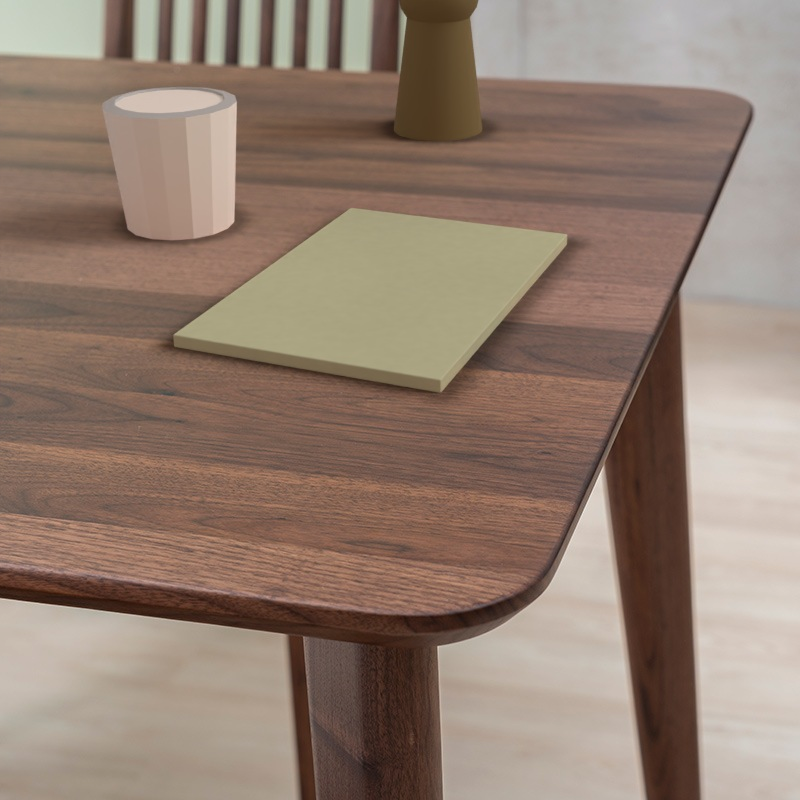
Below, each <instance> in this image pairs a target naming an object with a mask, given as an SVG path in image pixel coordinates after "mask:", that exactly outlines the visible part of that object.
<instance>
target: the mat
mask: <svg viewBox="0 0 800 800" xmlns="http://www.w3.org/2000/svg"><path fill="white" fill-rule="evenodd" d="M567 245H568V234H567V233H562V232H553V231H544V230H536V229H529V228H528V229H527V228H519V227H511V226H503V225H495V224H488V223H487V224H486V223H478V222H471V221H470V222H469V221H461V220H454V219H445V218H437V217H431V216H421V215H413V214H405V213H397V212H387V211H380V210H373V209H365V208H363V209H362V208H354V207H350V208H349V209H347V210H345V211H344V212H343V213H342V214H340V215H339V216H337V217H336V218H335V219H333V220H332V221H331V222H329V223H328V224H326V225H325V226H323V227H322V228H321V229H319V230H318V231H316V232H315V233H313V234H312V235H311V236H309V237H308V238H307V239H305V240H304V241H302V242H301V243H299V244H298V245H297V246H295V247H294V248H292V249H291V250H290V251H289V252H287V253H285V254H284V255H282V256H281V257H280V258H278V259H277V260H276V261H275V262H273V263H272V264H270V265H268V266H267V267H266V268H265V269H263V270H262V271H260V272H258V274H256V275H255V276H253V277H252V278H250V279H249V280H248V281H246V282H245V283H243V284H242V285H240V286H239V287H238V288H236V289H235V290H234V291H232V292H231V293H230V294H228V295H227V296H225V297H224V298H223V299H221V300H219V301H218V302H216V303H215V304H214V305H213V306H212V307H210V308H208V309H207V310H206V311H205V312H203V313H202V314H200V315H199V316H197V317H196V318H194V319H193V320H192V321H190V322H189V323H187V324H186V325H185V326H183V327H182V328H181V329H179V330H178V331H176V332H175V333H173V334H172V337H173V347H175V348H179V349H186V350H191V351H196V352H203V353H208V354H214V355H220V356H225V357H230V358H231V357H232V358H237V359H242V360H243V359H244V360H249V361H253V362H254V361H255V362H261V363H265V364H272V365H278V366H283V367H288V368H289V367H290V368H295V369H301V370H306V371H311V372H318V373H323V374H330V375H335V376H342V377H347V378H353V379H359V380H364V381H370V382H374V383H375V382H376V383H380V384H381V383H382V384H386V385H387V384H388V385H393V386H397V387H398V386H399V387H405V388H410V389H416V390H422V391H427V392H433V393H439V394H440V393H442V392H443V391H444V390H445V389H446V387H448V385H449V384H450V383H451V381H452V380H453V379H454V378H455V377H456V375H457V374H458V373H459V372H460V371H461V370H462V369H463V368H464V366H465V365H466V364H467V363H468V361H470V359H471V358H472V356H474V355H475V353H476V352H477V351H478V350H479V348H480V347H481V346H482V345H483V344H484V343H485V342H486V341H487V339H489V337H490V336H491V335H492V333H494V331H495V330H496V328H497V327H498V326H499V325H500V324H501V322H503V321H504V320H505V318H506V317H507V315H508V314H509V313H510V312H511V311H512V310H513V309H514V307H516V305H517V304H518V303H519V302H520V301H521V300H522V298H523V297H524V296H525V295H526V293H527V292H529V290H530V289H531V288H532V286H533V285H534V284H535V283H536V282H537V280H539V278H540V277H541V276H542V274H543V273H544V272H545V271H546V270H547V269H548V268H549V267H550V265H551V264H552V263H553V262H554V261H555V260H556V258H557V257H558V256H559V255H560V253H561V252H562V251H563V250H564V249H565V248H566V246H567Z"/></svg>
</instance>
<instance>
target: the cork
mask: <svg viewBox="0 0 800 800" xmlns="http://www.w3.org/2000/svg"><path fill="white" fill-rule="evenodd" d="M398 2H399V5H400V6H399V7H400V9H401V11H402V13H403V14H404V15H405V17H406V20H405V29H404V37H403V46H402V55H401V63H400V72H399V81H398V87H397V89H398V90H397V98H396V106H395V107H396V108H395V115H394V124H393V132H394V133H395V134H397V135H398V136H400V137H403V138H406V139H410V140H417V141H425V142H427V141H428V142H450V141H457V140H464V139H468V138H473V137H475V136H478V135H480V134H481V133H482V131H483V121H482V112H481V103H480V96H479V85H478V76H477V69H476V68H477V66H476V59H475V48H474V40H473V29H472V22H471V21H472V20H471V17H472V15H473V14H474V12H475V11H476V9H477V7H478V3H479V0H398Z"/></svg>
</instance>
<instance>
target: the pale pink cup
mask: <svg viewBox="0 0 800 800" xmlns="http://www.w3.org/2000/svg"><path fill="white" fill-rule="evenodd" d="M101 107H102V109H101V110H102V114H103V118H104V119H103V120H104V123H105V128H106V133H107V137H108V142H109V143H108V144H109V147H110V152H111V157H112V161H113V164H114V165H113V167H114V170H115V175H116V180H117V185H118V190H119V194H120V199H121V204H122V208H123V213H124V219H125V223H126V228H127V230H128V231H129V232H131V233H132V234H133V235H135V236H137V237H141V238H145V239H150V240H159V241H161V240H162V241H182V240H195V239H200V238H204V237H209V236H214V235H216V234H218V233H221V232H223V231H226V230H228V229H229V228H230V227H231V226H232V225H233V224H234V223H235V211H236V209H235V208H236V207H235V205H236V166H237V165H236V164H237V160H236V159H237V117H238V116H237V113H238V111H237V110H238V100H237V98H236V95H235V94H232V93H230V92H227V91H226V90H222V89H216V88H210V87H199V86H167V87H153V88H152V87H151V88H146V89H145V88H144V89H139V90H132V91H129V92H124V93H121V94H118V95H113V96H112V97H110V98H108V99H107V100H105V101H103V102H102V106H101Z"/></svg>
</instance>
